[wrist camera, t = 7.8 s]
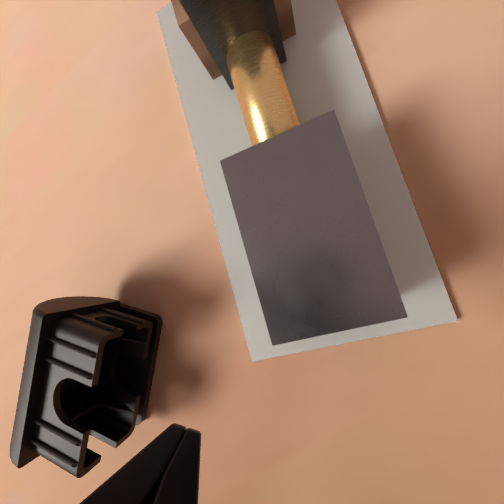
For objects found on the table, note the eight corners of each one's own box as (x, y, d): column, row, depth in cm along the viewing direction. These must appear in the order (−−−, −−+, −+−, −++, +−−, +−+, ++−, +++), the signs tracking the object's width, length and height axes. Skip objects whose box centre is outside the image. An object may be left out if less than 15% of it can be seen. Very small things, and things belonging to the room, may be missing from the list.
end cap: (100, 291, 23) (10, 302, 17) (165, 310, 21) (91, 332, 15) (81, 398, 23) (-14, 450, 17) (144, 428, 21) (62, 500, 15)
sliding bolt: (333, 197, 17) (335, 128, 8) (270, 220, 18) (213, 180, 9) (260, -17, 19) (201, -254, 10) (209, 16, 20) (116, -170, 11)
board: (455, 319, 15) (457, 321, 15) (253, 360, 18) (252, 361, 18) (303, -84, 19) (302, -89, 18) (159, 14, 22) (156, 11, 22)
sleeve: (385, 301, 16) (407, 317, 11) (287, 324, 18) (272, 346, 13) (333, 150, 17) (334, 109, 12) (247, 185, 19) (219, 160, 14)
